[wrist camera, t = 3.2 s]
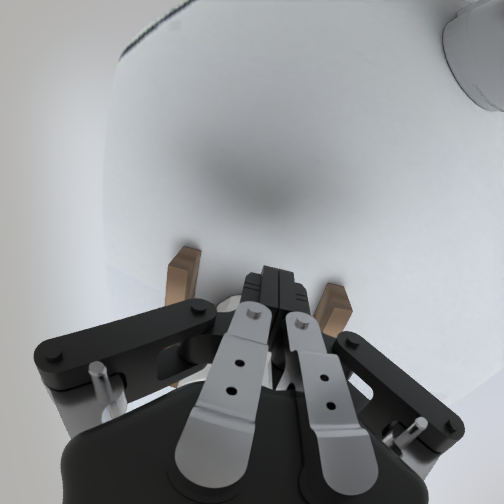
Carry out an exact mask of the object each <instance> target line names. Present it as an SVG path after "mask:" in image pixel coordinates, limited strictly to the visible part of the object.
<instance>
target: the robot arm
mask: <svg viewBox="0 0 504 504" xmlns="http://www.w3.org/2000/svg"><path fill="white" fill-rule="evenodd" d="M443 45H444V51H445V54H446V58H447V61H448V63H449V66H450V68H451V70H452V72H453V74H454V76H455V78H456V79H457V81H458V83H459V84H460V85H461V87H462V88H463V90H464V91H465V92H466V93H467V94H468V96H469V97H470V98H471V99H472V100H473V101H474V102H476V103H477V104H478V105H479V106H481V107H483V108H484V109H487V110H489V111H502V112H504V0H479V1H477V2H475V3H473V4H471V5H469V6H467V7H465V8H464V9H462V10H460V11H458V12H457V17H456V18H455V19H454V20H452V21H450V22H449V23H448V24H447V25H446V26H445V29H444V32H443ZM177 343H178V344H177ZM175 344H176V345H175ZM172 345H173V346H172ZM170 346H171V347H170ZM167 347H168V348H167ZM165 348H166V349H165ZM268 352H271V358H270V360H269V363H268V383H269V388H267V387H265V386H262V381H263V375H264V370H265V364H266V359H267V353H268ZM34 361H35V364H36V366H37V368H38V371H39V373H40V375H41V379H42V382H43V384H44V386H45V388H46V390H47V392H48V394H49V396H50V397H51V399H52V401H53V402H54V403H55V405H56V407H57V409H58V411H59V414H60V416H61V418H62V420H63V423H64V425H65V427H66V429H67V431H68V433H69V435H70V437H71V440H70V441H69V443H68V444H67V445H66V447H65V449H64V451H63V454H62V458H61V475H62V481H63V504H428V501H429V497H428V490H427V487H426V485H425V482H424V480H425V478H426V476H427V475H428V474H429V472H430V471H431V469H432V468H433V466H434V465H435V463H436V461H437V460H438V458H439V457H440V455H442V454H443V453H444V452H445V451H446V450H448V449H449V448H450V447H452V446H453V445H454V444H455V443H456V442H457V441H459V440H460V439H461V438H462V437H463V435H464V433H465V427H464V424H463V422H462V420H461V418H460V417H459V416H458V415H456V414H455V413H454V412H453V411H451V410H450V409H449V408H448V407H447V406H445V405H444V404H443V403H442V402H441V401H439V400H438V399H437V398H436V397H435V396H433V395H432V394H431V393H430V392H428V391H427V390H426V389H425V388H424V387H422V386H421V385H420V384H419V383H417V382H416V381H415V380H414V379H413V378H411V377H410V376H409V375H408V374H406V373H405V372H404V371H403V370H402V369H400V368H399V367H398V366H397V365H395V364H394V363H393V362H392V361H391V360H389V359H388V358H387V357H386V356H384V355H383V354H382V353H381V352H379V351H378V350H377V349H376V348H375V347H373V346H372V345H371V344H370V343H368V342H367V341H366V340H365V339H364V338H362V337H361V336H360V335H358V334H356V333H353V332H349V331H343V332H340V333H339V334H338V335H337V337H336V338H334V337H332V336H329V335H327V334H325V333H323V332H321V331H320V327H319V324H318V322H317V321H316V320H315V319H314V318H313V317H312V316H311V315H310V309H309V303H308V297H307V291H306V289H305V288H304V287H303V285H302V284H300V283H295V282H294V273H293V272H290V271H286V270H282V269H279V270H278V269H277V268H273V267H269V266H265V265H264V266H263V269H262V273H261V274H257V273H252V272H251V273H250V274H248V275H247V276H246V278H245V282H244V286H243V290H242V294H241V299H240V303H239V305H238V306H237V308H236V309H235V310H233V311H230V312H217V309H216V307H215V306H214V305H213V304H212V303H210V302H208V301H206V300H203V299H197V298H192V299H187V300H184V301H181V302H177V303H174V304H171V305H168V306H164V307H161V308H158V309H154V310H151V311H148V312H144V313H141V314H138V315H134V316H131V317H127V318H124V319H121V320H117V321H114V322H111V323H107V324H103V325H100V326H96V327H92V328H89V329H85V330H82V331H78V332H74V333H71V334H67V335H63V336H60V337H56V338H52V339H48V340H45V341H43V342H42V343H40V344H39V345H38V346H37V348H36V349H35V351H34ZM207 364H212V366H211V368H210V371H209V373H208V376H207V378H206V380H204V381H196V382H192V383H188V384H185V385H183V386H181V387H178V388H176V389H175V390H173V391H171V392H169V393H167V394H165V395H163V396H161V397H159V398H157V399H155V400H153V401H151V402H149V403H147V404H145V405H143V406H140V407H138V408H136V409H134V410H132V411H130V412H128V413H125V412H126V410H127V404H128V403H130V402H133V401H135V400H138V399H140V398H142V397H145V396H147V395H149V394H152V393H154V392H156V391H158V390H161V389H163V388H165V387H167V386H169V385H172V384H174V383H176V382H178V381H180V380H182V379H184V378H186V377H189V376H191V375H193V374H195V373H197V372H199V371H201V370H203V369H204V368H205V367H206V366H207ZM353 372H354V373H355V374H356V375H357V376H359V377H360V378H361V379H362V380H363V381H364V382H365V383H366V384H368V385H369V386H370V387H371V388H372V390H373V398H372V399H371V400H369V399H367V398H366V397H365V396H364V395H363V394H362V393H361V392H360V391H359V390H358V389H357V388H355V387H354V386H353V385H352V384H351V383H350V382H349V381H348V380H349V379H350V377H351V376H352V374H353Z"/></svg>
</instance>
